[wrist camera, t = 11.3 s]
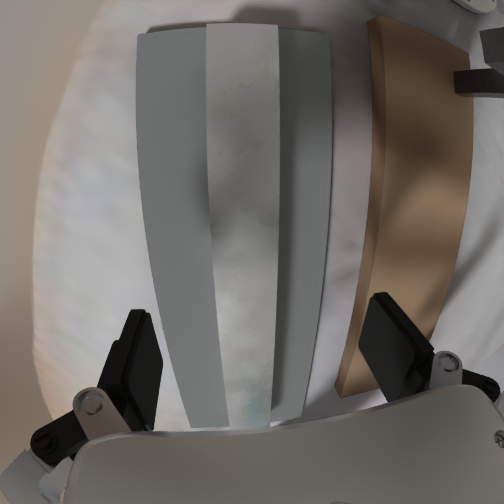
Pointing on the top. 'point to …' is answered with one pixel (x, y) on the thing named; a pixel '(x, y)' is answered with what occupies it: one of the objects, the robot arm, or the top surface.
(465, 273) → the top surface
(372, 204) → the hook stand
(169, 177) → the mat
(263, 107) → the rail
